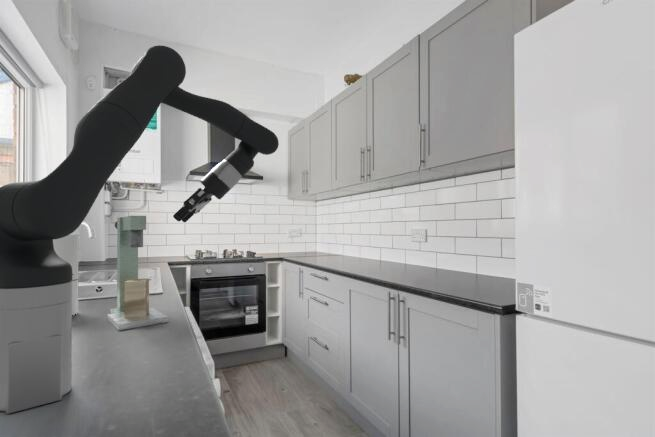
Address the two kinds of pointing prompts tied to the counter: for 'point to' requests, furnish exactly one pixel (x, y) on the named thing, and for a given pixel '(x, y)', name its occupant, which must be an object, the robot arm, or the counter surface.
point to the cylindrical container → (70, 262)
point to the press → (130, 272)
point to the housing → (136, 298)
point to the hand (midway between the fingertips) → (178, 219)
